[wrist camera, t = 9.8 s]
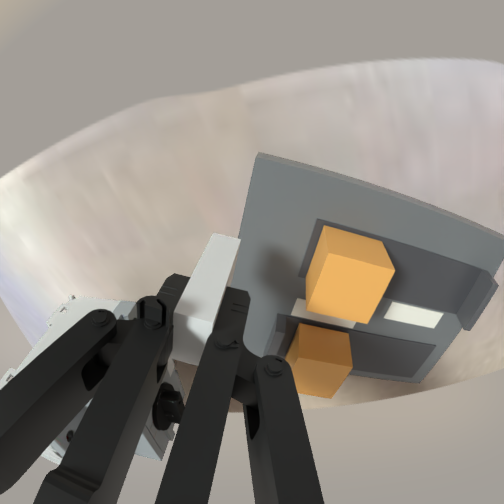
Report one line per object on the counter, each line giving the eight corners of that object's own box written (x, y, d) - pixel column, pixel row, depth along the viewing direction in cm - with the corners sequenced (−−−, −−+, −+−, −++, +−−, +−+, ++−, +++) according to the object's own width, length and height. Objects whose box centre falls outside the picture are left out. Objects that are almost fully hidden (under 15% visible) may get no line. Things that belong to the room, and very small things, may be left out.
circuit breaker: (211, 366, 30) (169, 505, 17) (93, 347, 32) (31, 450, 19) (200, 307, 26) (135, 470, 13) (70, 294, 28) (-15, 402, 15)
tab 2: (348, 333, 23) (352, 367, 20) (330, 365, 25) (331, 398, 22) (299, 323, 23) (298, 357, 20) (284, 356, 25) (282, 390, 22)
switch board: (502, 234, 19) (524, 256, 16) (416, 372, 27) (423, 399, 24) (258, 152, 19) (251, 164, 16) (219, 334, 27) (210, 363, 24)
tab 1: (381, 241, 19) (395, 270, 16) (359, 290, 21) (367, 324, 18) (324, 225, 19) (328, 252, 16) (305, 277, 21) (306, 310, 18)
